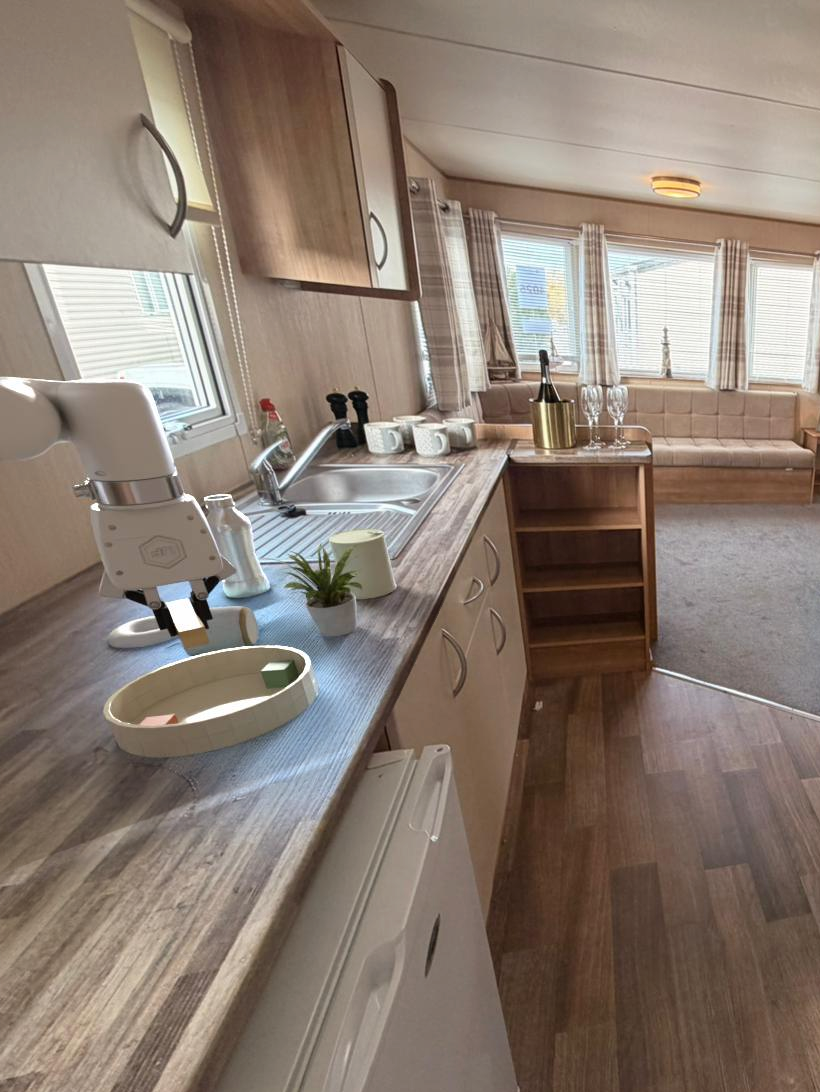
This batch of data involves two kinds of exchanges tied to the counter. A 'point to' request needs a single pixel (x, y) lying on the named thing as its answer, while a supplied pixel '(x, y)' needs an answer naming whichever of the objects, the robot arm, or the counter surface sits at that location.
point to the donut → (139, 634)
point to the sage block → (279, 673)
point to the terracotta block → (160, 720)
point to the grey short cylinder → (228, 630)
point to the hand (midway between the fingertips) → (188, 628)
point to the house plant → (328, 594)
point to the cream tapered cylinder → (365, 561)
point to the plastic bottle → (236, 547)
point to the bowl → (208, 702)
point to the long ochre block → (187, 624)
